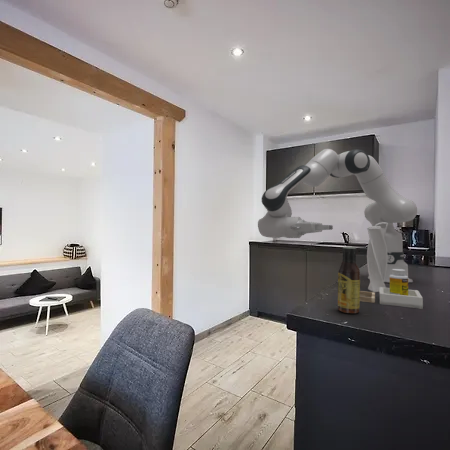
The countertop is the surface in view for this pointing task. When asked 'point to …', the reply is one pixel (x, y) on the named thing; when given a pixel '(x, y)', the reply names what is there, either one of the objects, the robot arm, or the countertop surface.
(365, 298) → the wooden frame
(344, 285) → the sauce bottle
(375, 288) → the skyscraper
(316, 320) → the countertop surface
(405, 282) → the supplement bottle
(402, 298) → the tray
